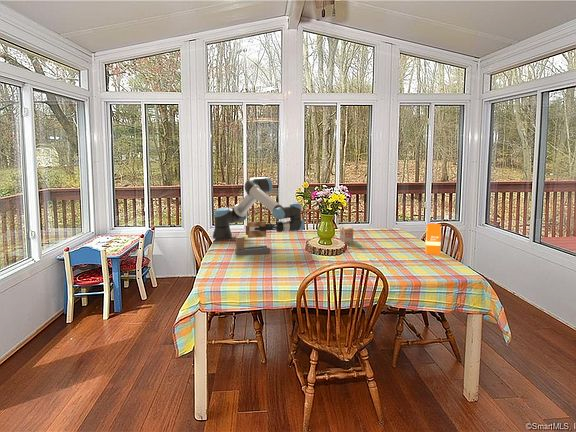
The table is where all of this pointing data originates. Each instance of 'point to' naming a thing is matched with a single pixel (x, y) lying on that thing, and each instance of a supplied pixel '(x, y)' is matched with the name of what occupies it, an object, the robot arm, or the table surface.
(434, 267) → the table surface
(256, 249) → the base rail
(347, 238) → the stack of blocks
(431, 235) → the orange juice
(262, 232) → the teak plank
